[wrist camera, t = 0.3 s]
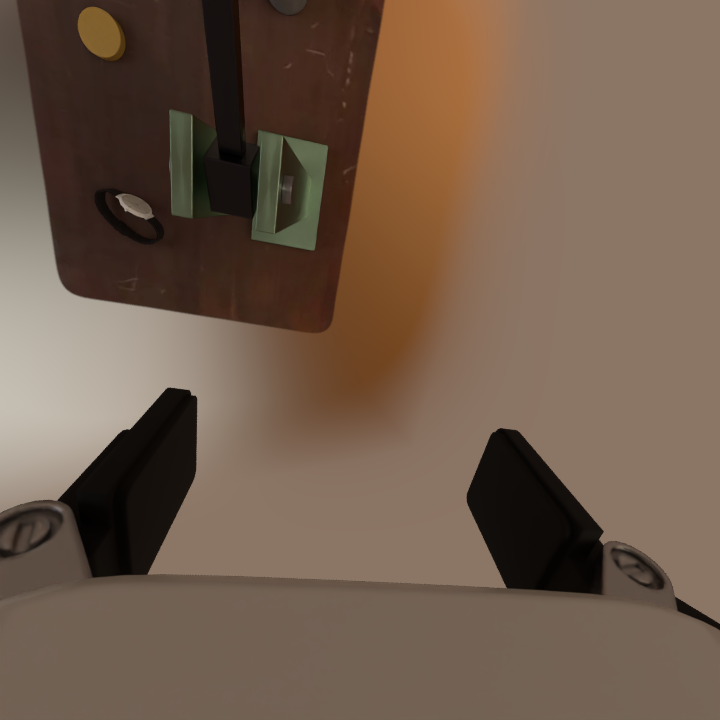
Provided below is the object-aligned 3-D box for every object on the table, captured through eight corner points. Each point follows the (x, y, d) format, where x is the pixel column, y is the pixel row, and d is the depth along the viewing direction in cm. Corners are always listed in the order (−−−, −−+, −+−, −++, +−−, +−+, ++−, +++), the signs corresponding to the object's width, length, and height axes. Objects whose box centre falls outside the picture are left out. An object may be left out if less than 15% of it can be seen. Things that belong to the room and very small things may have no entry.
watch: (174, 223, 44) (162, 225, 41) (155, 252, 45) (142, 256, 42) (115, 178, 41) (96, 175, 38) (96, 210, 43) (77, 210, 39)
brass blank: (75, 22, 36) (68, 18, 35) (108, 4, 35) (102, -2, 34) (102, 68, 37) (96, 64, 36) (134, 50, 37) (129, 46, 36)
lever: (98, -385, 8) (42, -442, 7) (303, -298, 9) (291, -333, 8) (196, 183, 20) (182, 206, 18) (285, 201, 20) (279, 225, 19)
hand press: (260, 132, 41) (125, -16, 14) (328, 147, 42) (328, 40, 15) (253, 238, 45) (142, 286, 18) (314, 249, 47) (296, 310, 19)
